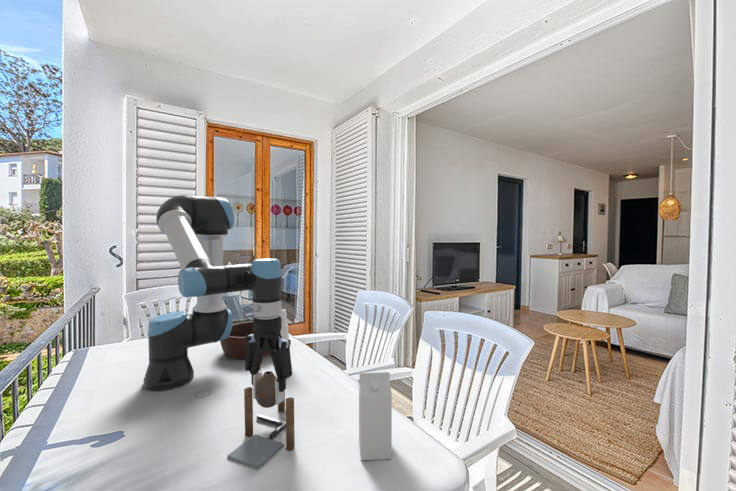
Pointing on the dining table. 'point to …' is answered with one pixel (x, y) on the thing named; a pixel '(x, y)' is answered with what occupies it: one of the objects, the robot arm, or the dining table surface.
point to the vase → (266, 390)
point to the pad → (255, 451)
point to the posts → (281, 407)
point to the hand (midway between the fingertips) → (268, 399)
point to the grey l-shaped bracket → (274, 422)
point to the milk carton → (375, 416)
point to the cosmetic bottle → (284, 326)
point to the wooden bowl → (238, 341)
